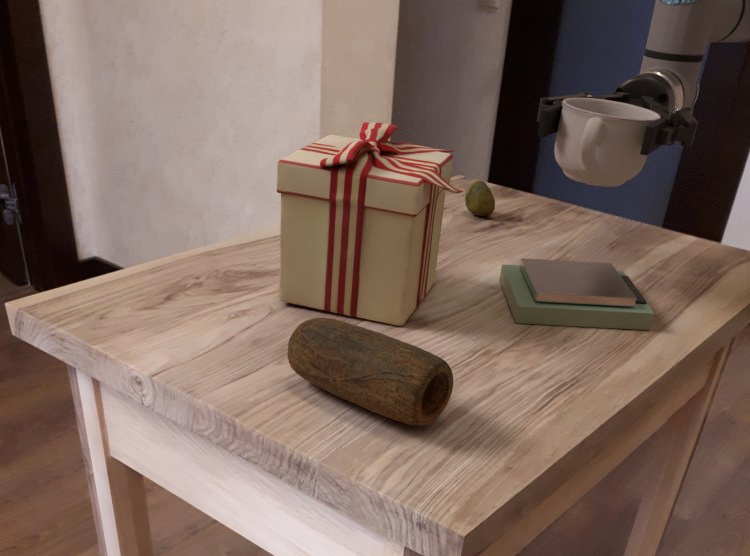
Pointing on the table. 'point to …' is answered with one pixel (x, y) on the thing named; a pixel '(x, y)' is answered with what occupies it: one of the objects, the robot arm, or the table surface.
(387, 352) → the wooden vase
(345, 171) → the gift box
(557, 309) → the scale
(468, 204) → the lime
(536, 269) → the pan
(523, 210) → the table surface
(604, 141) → the teacup
